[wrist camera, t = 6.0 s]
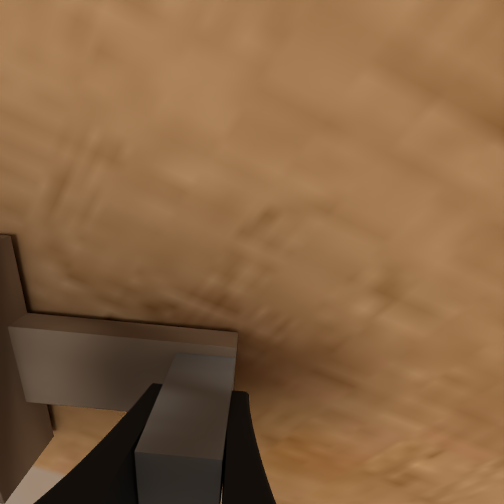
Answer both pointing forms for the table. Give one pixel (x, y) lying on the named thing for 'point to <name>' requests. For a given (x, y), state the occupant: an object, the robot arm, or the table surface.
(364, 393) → the table surface
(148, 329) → the grey hook bracket
